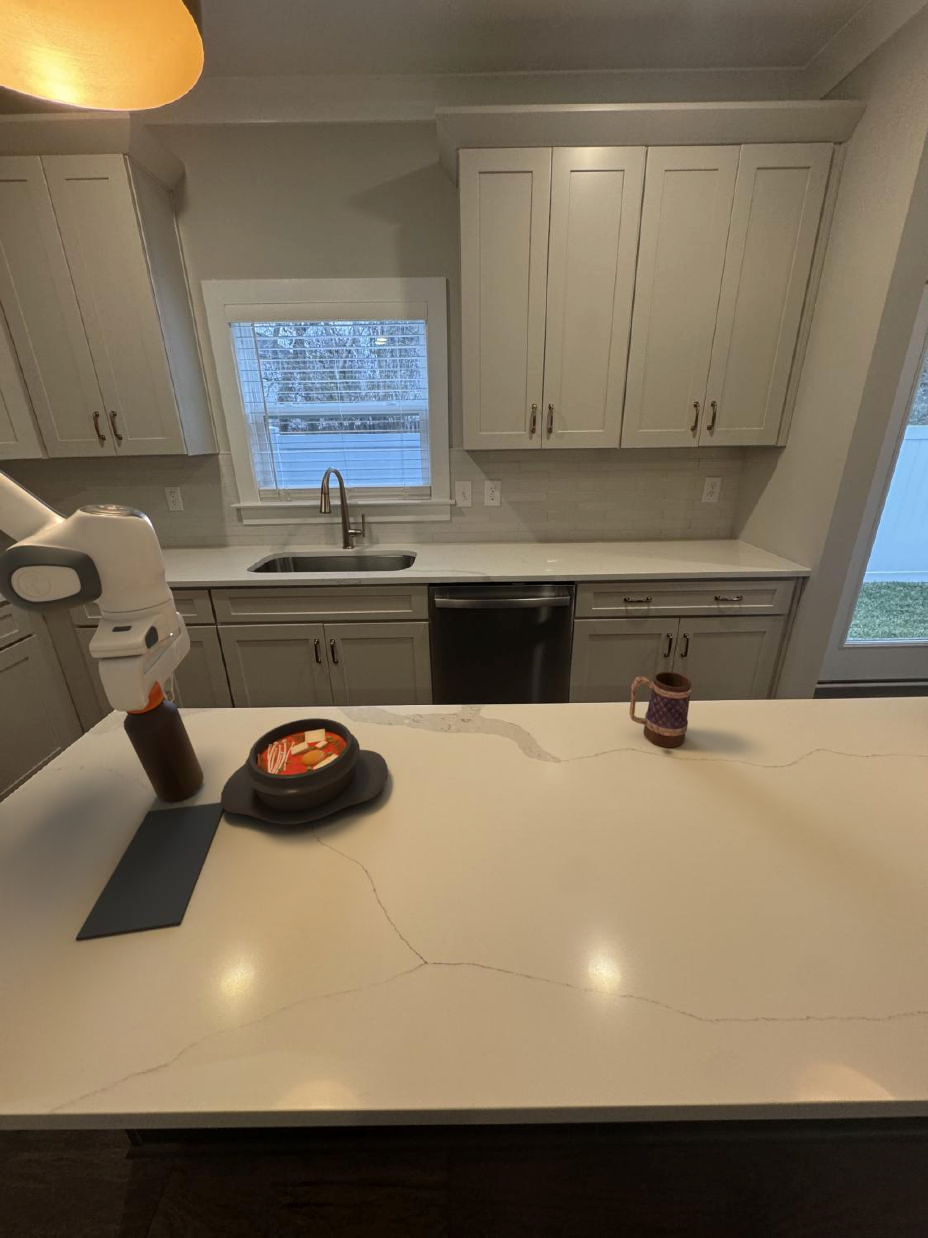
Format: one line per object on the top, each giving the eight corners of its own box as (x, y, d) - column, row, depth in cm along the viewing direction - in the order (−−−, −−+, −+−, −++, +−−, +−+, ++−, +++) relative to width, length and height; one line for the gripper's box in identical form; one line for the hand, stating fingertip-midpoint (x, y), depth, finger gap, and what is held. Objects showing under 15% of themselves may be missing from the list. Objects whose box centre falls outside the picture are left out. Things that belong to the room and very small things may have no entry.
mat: (76, 940, 57) (75, 938, 57) (148, 813, 75) (148, 811, 75) (180, 924, 59) (179, 922, 58) (226, 803, 77) (226, 801, 77)
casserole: (204, 843, 70) (190, 794, 67) (244, 758, 87) (234, 717, 84) (386, 826, 72) (382, 778, 69) (390, 747, 89) (386, 706, 86)
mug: (678, 726, 94) (688, 668, 89) (690, 749, 87) (700, 688, 83) (621, 723, 95) (628, 666, 90) (628, 746, 88) (636, 686, 84)
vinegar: (159, 774, 82) (114, 679, 71) (205, 763, 84) (169, 669, 73) (154, 808, 76) (105, 711, 65) (203, 796, 78) (164, 700, 67)
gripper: (148, 598, 81) (168, 674, 86) (80, 652, 62) (111, 746, 67) (190, 595, 82) (207, 671, 87) (136, 648, 63) (162, 741, 68)
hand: (165, 704), depth 77 cm, fingers closed
